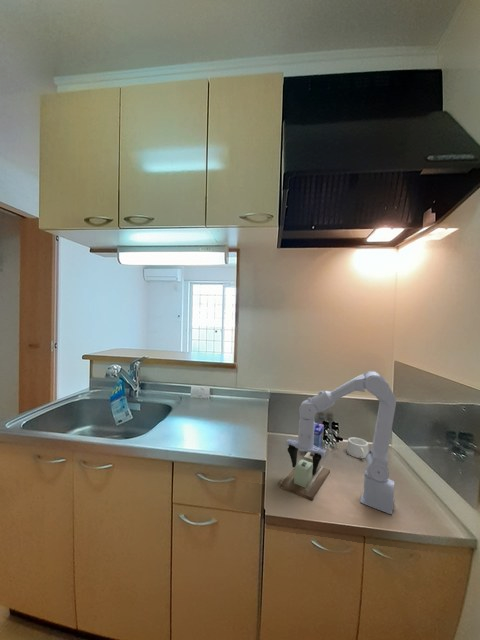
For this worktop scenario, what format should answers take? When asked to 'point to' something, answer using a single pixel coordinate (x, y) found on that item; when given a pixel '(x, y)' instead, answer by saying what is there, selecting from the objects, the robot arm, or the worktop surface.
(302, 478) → the module
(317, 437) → the ink cartridge box
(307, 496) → the rail board
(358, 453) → the mug
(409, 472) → the worktop surface
